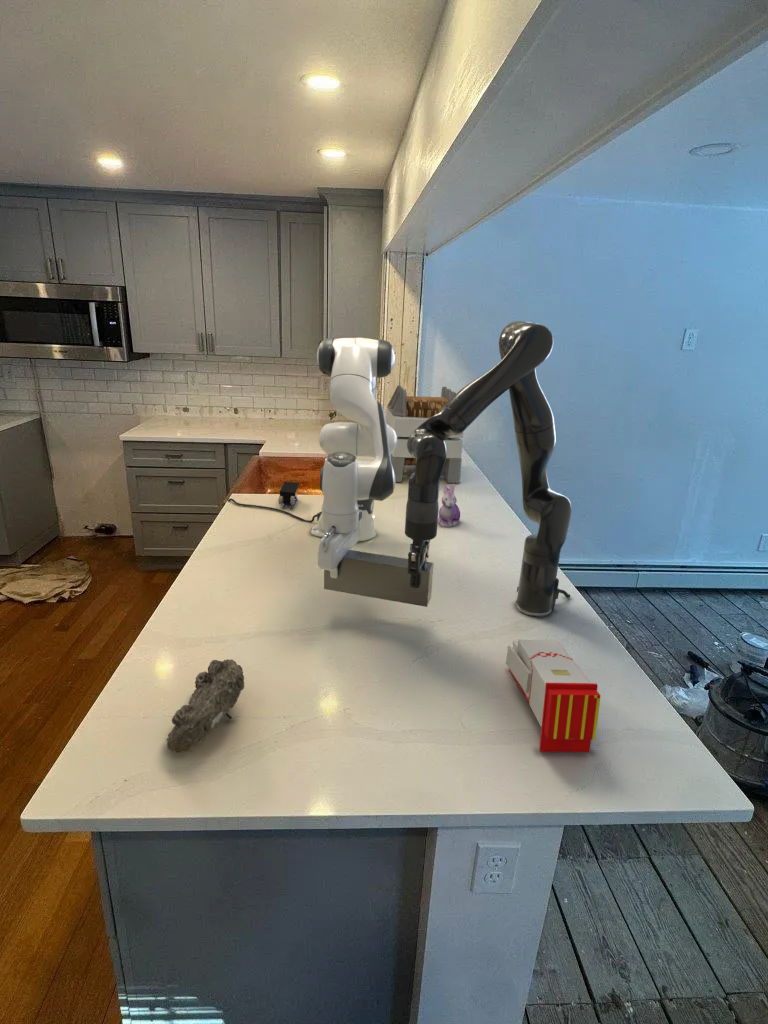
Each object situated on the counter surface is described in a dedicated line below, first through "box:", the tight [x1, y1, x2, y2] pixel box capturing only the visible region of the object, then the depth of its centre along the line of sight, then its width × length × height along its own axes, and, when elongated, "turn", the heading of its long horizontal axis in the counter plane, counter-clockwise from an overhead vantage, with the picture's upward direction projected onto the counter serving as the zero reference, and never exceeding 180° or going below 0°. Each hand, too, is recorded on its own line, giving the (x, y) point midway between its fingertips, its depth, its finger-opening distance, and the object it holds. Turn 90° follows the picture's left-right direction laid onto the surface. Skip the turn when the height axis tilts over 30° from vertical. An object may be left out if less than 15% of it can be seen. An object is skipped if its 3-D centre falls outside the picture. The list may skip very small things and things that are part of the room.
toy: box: [505, 638, 602, 753], centre depth 114 cm, size 12×13×30 cm
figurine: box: [438, 483, 461, 528], centre depth 209 cm, size 9×10×15 cm
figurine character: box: [278, 481, 300, 510], centre depth 223 cm, size 7×8×15 cm
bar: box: [323, 549, 435, 608], centre depth 140 cm, size 26×5×10 cm, turn 74°
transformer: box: [385, 384, 465, 484], centre depth 268 cm, size 34×33×41 cm
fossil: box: [166, 658, 245, 754], centre depth 106 cm, size 22×10×15 cm
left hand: (339, 571), depth 142 cm, fingers closed on bar, 5 cm apart
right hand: (417, 581), depth 137 cm, fingers closed on bar, 5 cm apart
